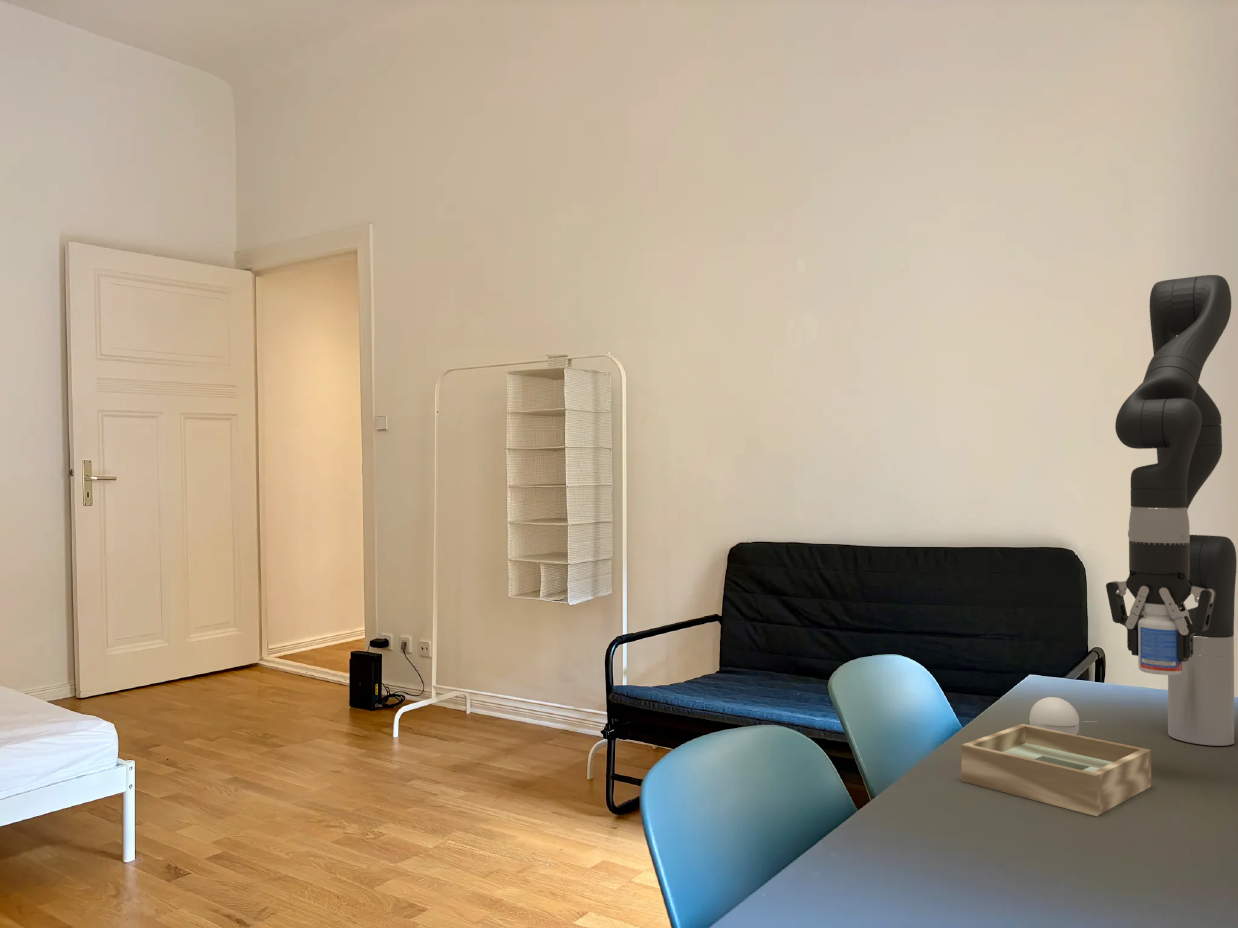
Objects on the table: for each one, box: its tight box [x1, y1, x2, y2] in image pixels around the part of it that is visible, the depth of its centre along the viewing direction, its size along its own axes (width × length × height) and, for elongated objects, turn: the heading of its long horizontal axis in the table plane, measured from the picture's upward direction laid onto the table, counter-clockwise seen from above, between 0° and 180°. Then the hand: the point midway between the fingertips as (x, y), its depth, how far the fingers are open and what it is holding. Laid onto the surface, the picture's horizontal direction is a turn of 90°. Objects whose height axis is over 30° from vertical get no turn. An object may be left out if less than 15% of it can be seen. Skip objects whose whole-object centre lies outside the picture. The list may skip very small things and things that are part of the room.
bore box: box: [960, 723, 1152, 817], centre depth 130 cm, size 18×18×5 cm
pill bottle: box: [1137, 603, 1182, 676], centre depth 134 cm, size 6×5×10 cm
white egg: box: [1029, 696, 1098, 735], centre depth 149 cm, size 10×7×7 cm
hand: (1159, 657), depth 134 cm, fingers closed on pill bottle, 5 cm apart
